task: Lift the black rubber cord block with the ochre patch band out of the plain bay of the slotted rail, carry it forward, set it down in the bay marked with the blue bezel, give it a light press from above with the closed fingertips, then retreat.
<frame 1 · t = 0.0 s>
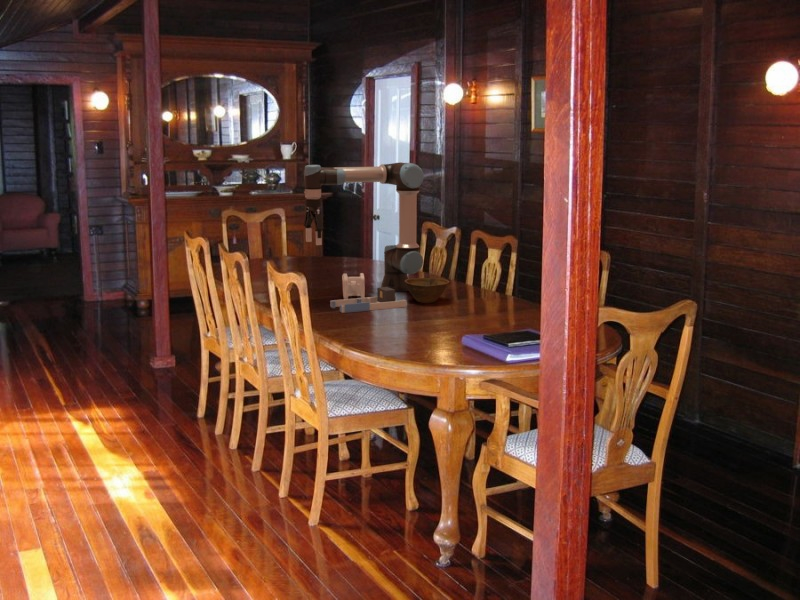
hand: (313, 243, 435), 28 cm above the table, fingers open, 13 cm apart
cord block: (386, 305, 432), on the table
bowl: (427, 301, 442), on the table
cable organizer: (353, 298, 450), on the table
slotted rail: (368, 306, 428), on the table
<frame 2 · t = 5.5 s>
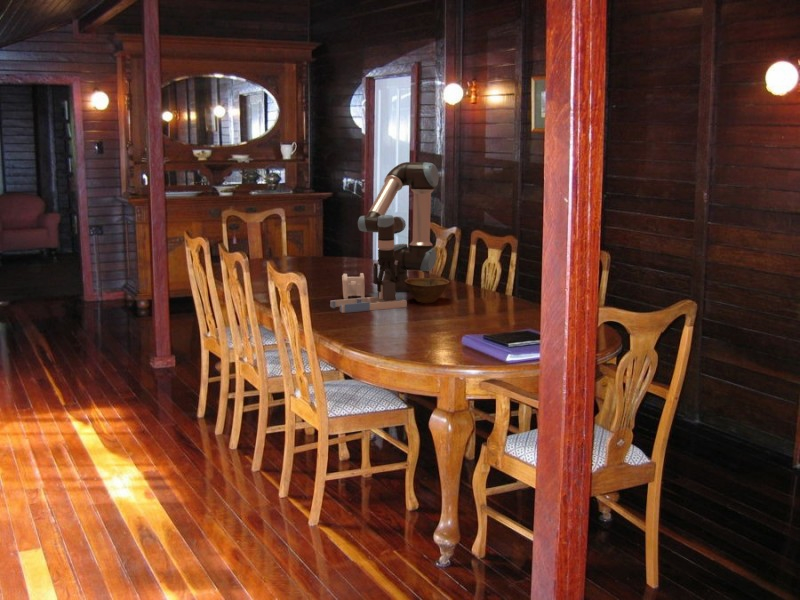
hand: (386, 297, 432), 3 cm above the table, fingers closed on cord block, 5 cm apart
cord block: (386, 298, 432), point 3 cm above the table, touching gripper
everything else where it was.
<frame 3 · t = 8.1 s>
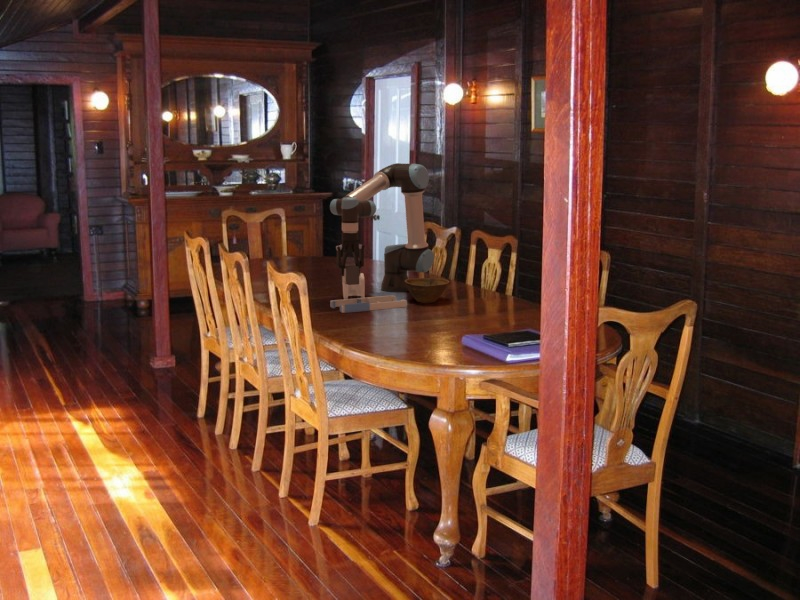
hand: (350, 282, 422), 12 cm above the table, fingers closed on cord block, 5 cm apart
cord block: (350, 283, 422), point 12 cm above the table, touching gripper
everything else where it was.
when the fingers open (1 cm above the table, at t = 10.7 s): cord block stays where it is, on the table.
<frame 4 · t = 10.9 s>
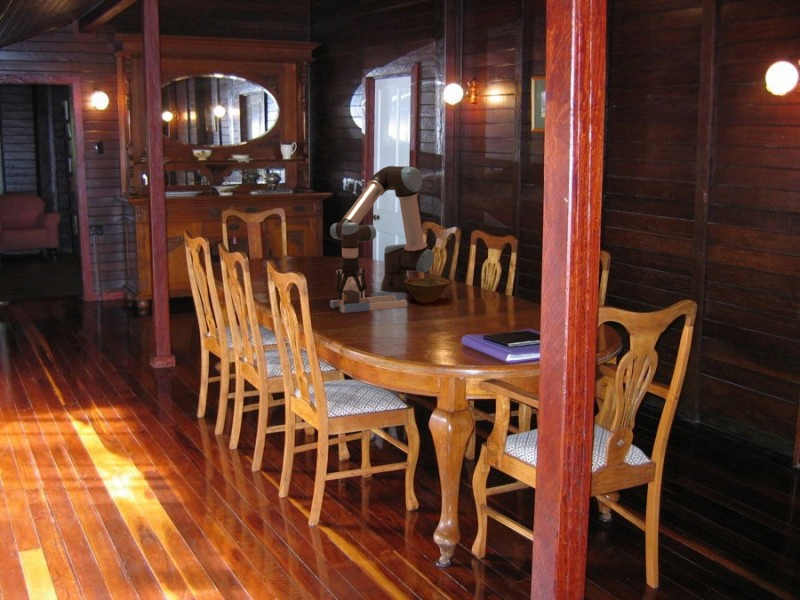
hand: (350, 306, 424), 1 cm above the table, fingers open, 8 cm apart
cord block: (350, 308, 425), on the table
everything else where it was.
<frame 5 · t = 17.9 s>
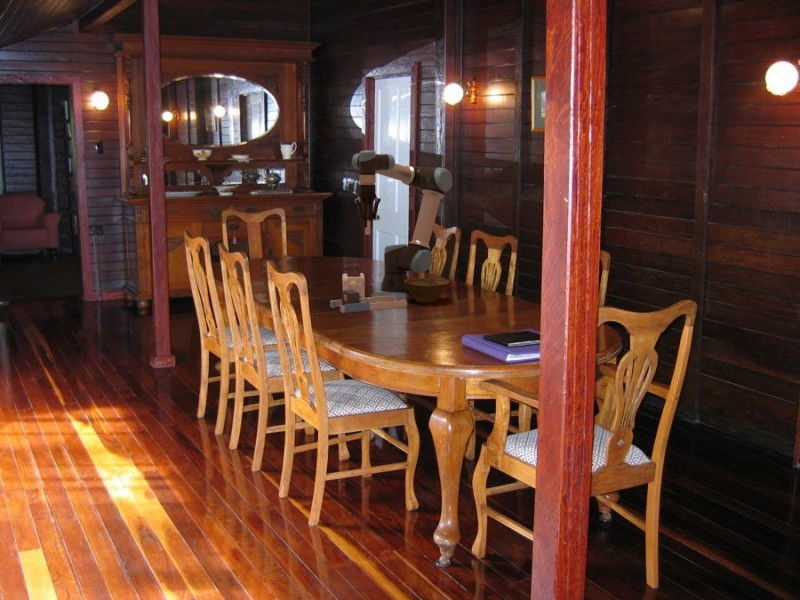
hand: (367, 234, 435), 32 cm above the table, fingers closed
nothing on the table moved.
at the end: cord block inside the target area (0.0 cm from its centre), on the table; the gripper is holding nothing; cord block tilted 0° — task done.
